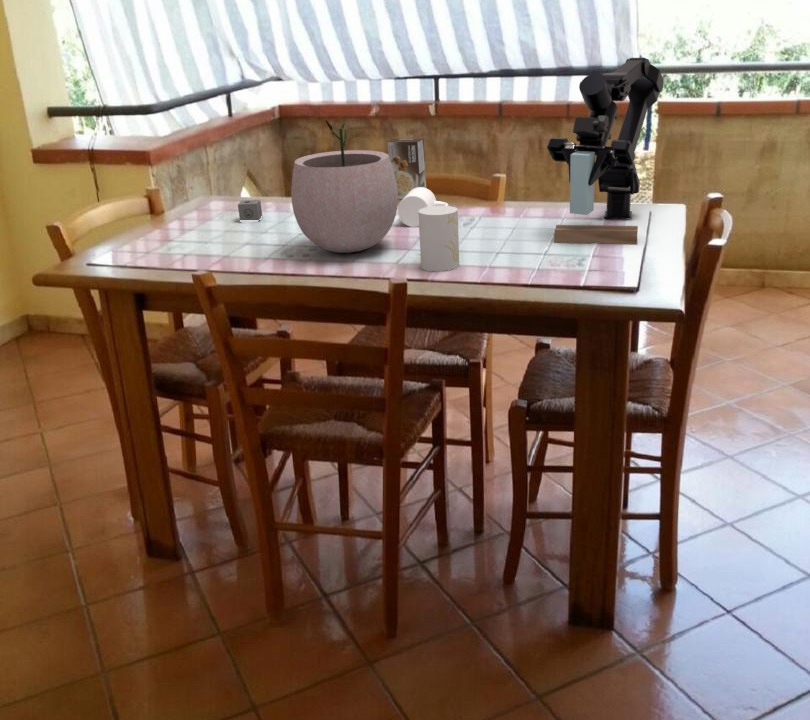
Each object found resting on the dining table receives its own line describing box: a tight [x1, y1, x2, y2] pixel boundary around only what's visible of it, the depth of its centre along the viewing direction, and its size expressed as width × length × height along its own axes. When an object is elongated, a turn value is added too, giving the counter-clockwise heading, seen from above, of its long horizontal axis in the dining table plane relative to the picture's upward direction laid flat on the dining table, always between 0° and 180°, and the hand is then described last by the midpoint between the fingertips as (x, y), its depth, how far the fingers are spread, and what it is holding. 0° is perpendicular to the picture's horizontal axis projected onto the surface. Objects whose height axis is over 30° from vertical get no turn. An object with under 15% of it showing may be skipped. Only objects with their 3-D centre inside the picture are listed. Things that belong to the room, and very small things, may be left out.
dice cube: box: [237, 199, 263, 221], centre depth 233 cm, size 5×5×5 cm
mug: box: [397, 187, 450, 228], centre depth 220 cm, size 12×10×8 cm
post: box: [569, 151, 596, 216], centre depth 193 cm, size 4×4×13 cm
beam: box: [553, 224, 639, 245], centre depth 197 cm, size 4×18×3 cm, turn 75°
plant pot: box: [291, 116, 399, 254], centre depth 196 cm, size 24×24×30 cm
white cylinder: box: [418, 205, 460, 272], centre depth 184 cm, size 8×8×12 cm
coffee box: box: [387, 138, 427, 200], centre depth 247 cm, size 9×6×16 cm
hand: (579, 183), depth 191 cm, fingers closed on post, 4 cm apart
